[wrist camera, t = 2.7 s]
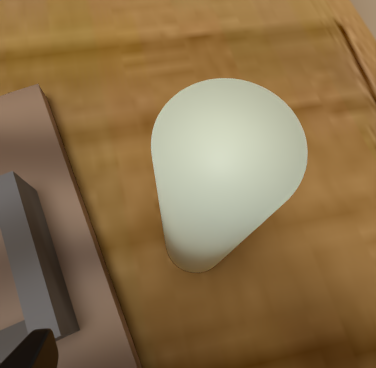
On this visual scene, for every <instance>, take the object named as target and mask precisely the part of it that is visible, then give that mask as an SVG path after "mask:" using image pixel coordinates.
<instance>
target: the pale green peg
mask: <svg viewBox="0 0 376 368" xmlns="http://www.w3.org/2000/svg"><path fill="white" fill-rule="evenodd" d="M151 152H152V160H153V166H154V173H155V179H156V186H157V192H158V199H159V205H160V212H161V218H162V225H163V231H164V238H165V244H166V249H167V253H168V255H169V257H170V259H171V260H172V262H173V263H174V264H175V265H176V266H178V267H179V268H181V269H182V270H185V271H188V272H192V273H200V272H205V271H207V270H210V269H211V268H213V267H214V266H216V265H217V264H218V263H219V262H220V261H221V260H222V259H223V258H224V257H226V256H227V255H228V254H229V253H230V252H231V251H232V250H233V249H234V248H235V247H237V246H238V245H239V244H240V243H241V242H242V241H243V240H244V239H245V238H246V237H247V236H249V235H250V234H251V233H252V232H253V231H254V230H255V229H256V228H257V227H258V226H260V225H261V224H262V223H263V222H264V221H265V220H266V219H267V218H268V217H269V216H271V215H272V214H273V213H274V212H275V211H276V210H277V209H278V208H279V207H280V206H282V205H283V204H284V203H285V202H286V201H287V200H288V199H289V198H290V197H291V196H292V195H293V193H294V192H295V191H296V189H297V188H298V186H299V184H300V182H301V180H302V178H303V176H304V173H305V170H306V165H307V152H308V150H307V142H306V138H305V134H304V131H303V129H302V126H301V124H300V122H299V120H298V118H297V117H296V115H295V114H294V112H293V111H292V110H291V108H290V107H289V106H288V105H287V104H286V103H285V102H284V101H283V100H282V99H280V98H279V97H278V96H277V95H275V94H274V93H272V92H271V91H269V90H267V89H265V88H264V87H262V86H259V85H257V84H254V83H252V82H248V81H244V80H239V79H230V78H219V79H211V80H205V81H202V82H198V83H195V84H193V85H191V86H189V87H187V88H185V89H183V90H182V91H180V92H179V93H177V94H176V95H175V96H174V97H172V98H171V99H170V100H169V101H168V103H167V104H166V105H165V106H164V107H163V109H162V110H161V112H160V114H159V115H158V117H157V119H156V122H155V125H154V127H153V132H152V137H151Z"/></svg>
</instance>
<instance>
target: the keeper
mask: <svg viewBox="0 0 376 368" xmlns="http://www.w3.org/2000/svg"><path fill="white" fill-rule="evenodd" d="M44 328H50V329H51V330H52V331H53V334H54V337H55V341H56V344H57V348H58V353H59V358H58V365H57V368H142V366H141V363H140V360H139V357H138V355H137V352H136V349H135V346H134V343H133V340H132V338H131V335H130V332H129V329H128V326H127V324H126V321H125V318H124V315H123V312H122V309H121V307H120V304H119V301H118V298H117V295H116V292H115V290H114V287H113V284H112V281H111V278H110V275H109V273H108V270H107V267H106V264H105V261H104V259H103V256H102V253H101V250H100V247H99V244H98V242H97V239H96V236H95V233H94V230H93V227H92V225H91V222H90V219H89V216H88V213H87V211H86V208H85V205H84V202H83V199H82V196H81V194H80V191H79V188H78V185H77V182H76V179H75V177H74V174H73V171H72V168H71V165H70V163H69V160H68V157H67V154H66V151H65V148H64V146H63V143H62V140H61V137H60V134H59V131H58V129H57V126H56V123H55V120H54V117H53V115H52V112H51V109H50V106H49V103H48V100H47V98H46V96H45V94H44V93H43V91H42V89H41V88H40V86H39V85H38V84H36V85H33V86H30V87H27V88H23V89H20V90H17V91H14V92H11V93H8V94H5V95H2V96H0V364H1V363H2V362H3V361H4V360H5V358H6V357H7V356H8V355H9V354H10V353H11V352H12V351H13V350H14V349H15V348H16V347H17V346H18V345H19V344H20V343H21V342H22V341H23V340H24V339H25V338H26V337H27V335H28V334H29V333H30V332H31V331H33V330H35V329H44Z"/></svg>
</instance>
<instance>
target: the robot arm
mask: <svg viewBox="0 0 376 368" xmlns="http://www.w3.org/2000/svg"><path fill="white" fill-rule="evenodd" d="M58 358H59V353H58V348H57V344H56V341H55V337H54V334H53V331H52V330H51V329H50V328H44V329H35V330H33V331H31V332H30V333H29V334H28V335H27V337H26V338H25V339H24V340H23V341H22V342H21V343H20V344H19V345H18V346H17V347H16V348H15V349H14V350H13V351H12V352H11V353H10V354H9V355H8V356H7V357H6V358H5V360H4V361H3V362H2V363H1V364H0V368H57V365H58Z"/></svg>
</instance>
